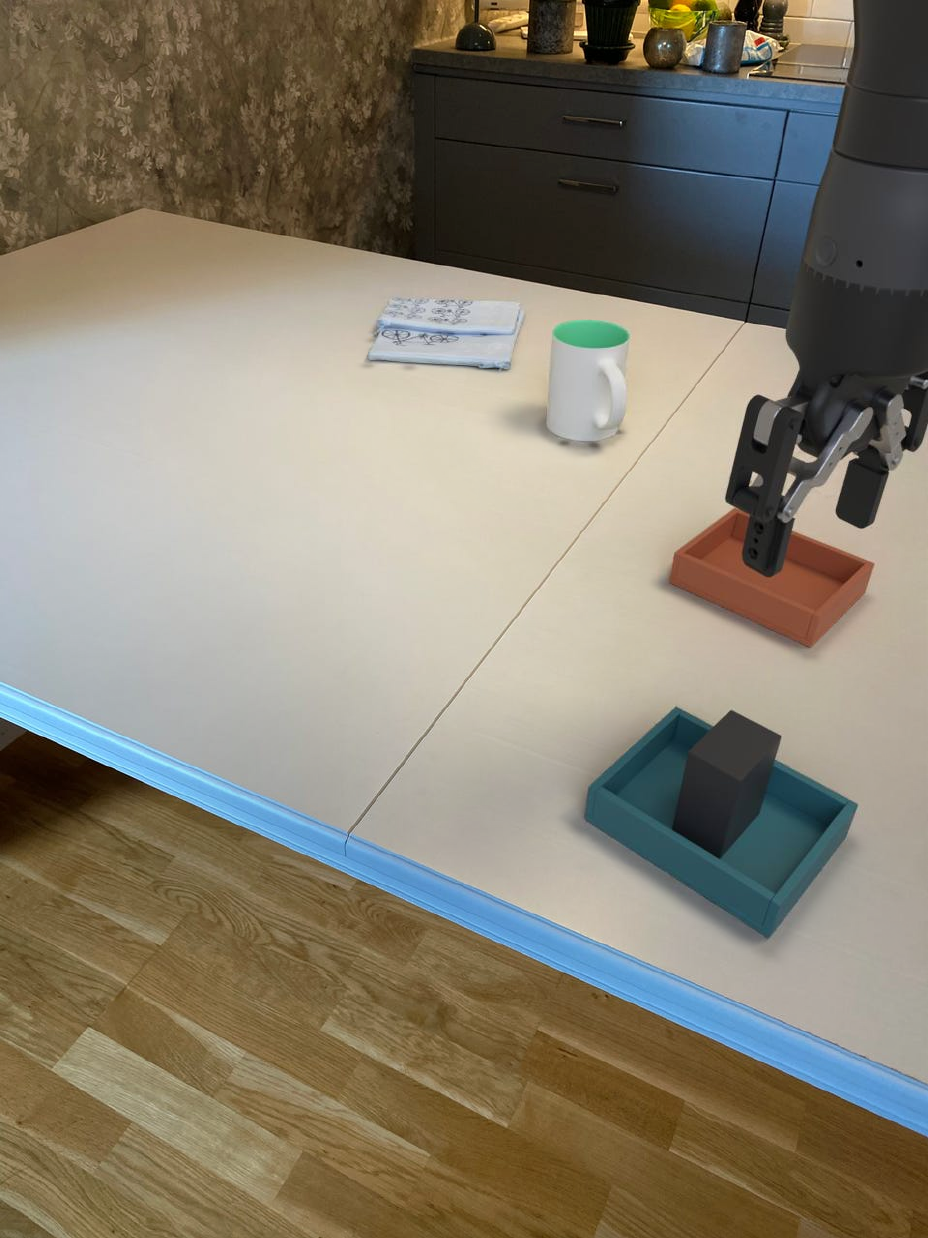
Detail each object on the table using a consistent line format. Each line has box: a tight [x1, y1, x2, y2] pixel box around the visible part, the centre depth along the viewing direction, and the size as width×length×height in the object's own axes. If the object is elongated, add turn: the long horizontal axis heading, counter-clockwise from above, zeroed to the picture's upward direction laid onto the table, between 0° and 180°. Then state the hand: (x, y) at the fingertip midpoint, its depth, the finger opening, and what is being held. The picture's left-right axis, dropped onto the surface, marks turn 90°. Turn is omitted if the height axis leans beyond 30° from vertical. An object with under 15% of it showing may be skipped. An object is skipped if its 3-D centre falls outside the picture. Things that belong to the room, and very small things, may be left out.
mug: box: [545, 319, 631, 442], centre depth 104 cm, size 12×8×10 cm, turn 22°
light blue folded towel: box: [367, 297, 526, 372], centre depth 128 cm, size 19×20×2 cm
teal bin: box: [583, 706, 859, 939], centre depth 62 cm, size 13×10×3 cm
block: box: [672, 709, 782, 859], centre depth 60 cm, size 4×5×7 cm
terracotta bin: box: [668, 507, 875, 648], centre depth 83 cm, size 13×10×3 cm
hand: (808, 544), depth 56 cm, fingers open, 8 cm apart
